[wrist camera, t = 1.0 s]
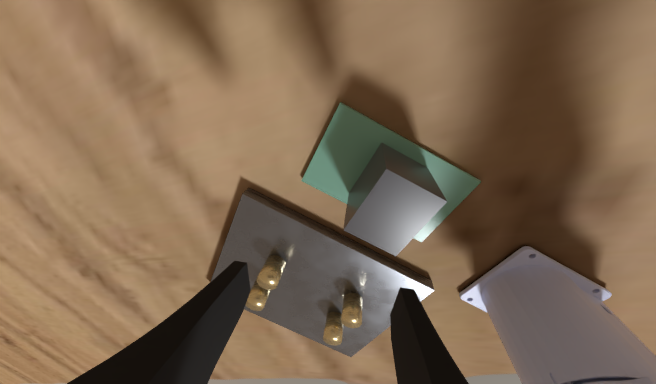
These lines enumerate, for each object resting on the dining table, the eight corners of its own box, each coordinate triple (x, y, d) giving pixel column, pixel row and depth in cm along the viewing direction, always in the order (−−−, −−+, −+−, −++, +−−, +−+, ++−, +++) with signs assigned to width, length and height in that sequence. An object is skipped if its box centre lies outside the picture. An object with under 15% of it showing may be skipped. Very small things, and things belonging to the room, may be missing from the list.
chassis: (431, 280, 23) (441, 314, 20) (351, 347, 31) (349, 379, 28) (248, 187, 21) (227, 209, 18) (212, 284, 29) (193, 311, 26)
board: (476, 177, 18) (519, 220, 13) (419, 236, 21) (436, 289, 16) (341, 101, 17) (329, 116, 12) (303, 176, 20) (282, 213, 15)
